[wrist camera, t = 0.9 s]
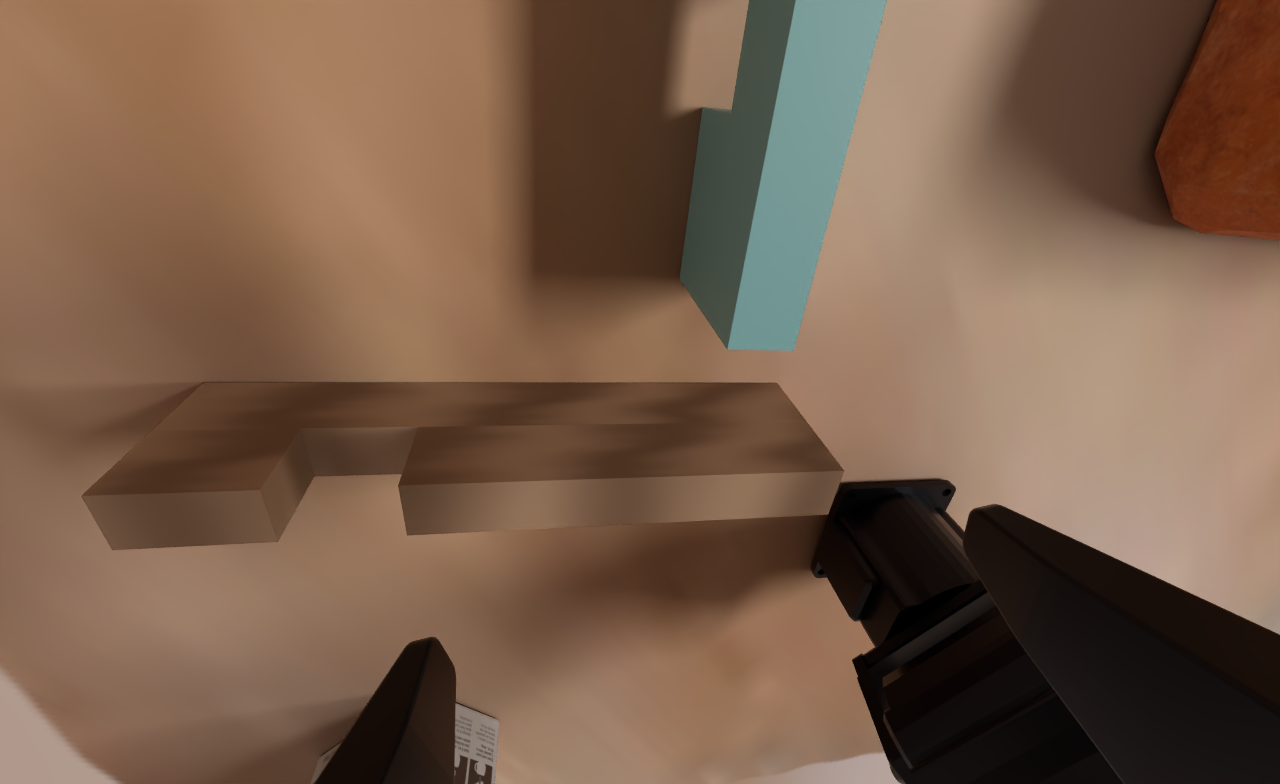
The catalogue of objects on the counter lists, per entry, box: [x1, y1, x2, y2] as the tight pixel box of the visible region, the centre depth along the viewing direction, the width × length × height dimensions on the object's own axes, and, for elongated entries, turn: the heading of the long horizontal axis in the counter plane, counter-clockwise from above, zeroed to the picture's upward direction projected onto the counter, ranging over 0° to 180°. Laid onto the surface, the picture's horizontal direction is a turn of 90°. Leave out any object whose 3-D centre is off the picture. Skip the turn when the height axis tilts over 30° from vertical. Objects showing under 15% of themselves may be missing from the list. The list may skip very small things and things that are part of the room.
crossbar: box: [679, 0, 887, 351], centre depth 14 cm, size 15×2×6 cm, turn 174°
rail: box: [81, 383, 844, 550], centre depth 19 cm, size 22×2×6 cm, turn 84°
